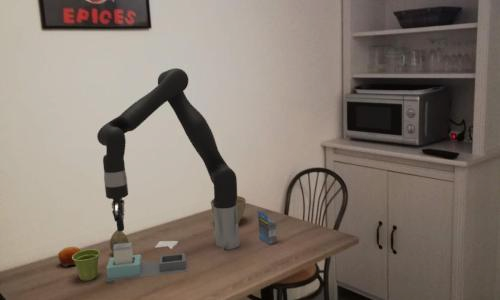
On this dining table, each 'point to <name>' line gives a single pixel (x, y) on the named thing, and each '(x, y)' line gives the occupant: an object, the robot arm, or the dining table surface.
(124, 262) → the plug
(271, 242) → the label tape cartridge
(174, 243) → the external hard drive
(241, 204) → the planter bowl
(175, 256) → the panel
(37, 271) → the dining table surface
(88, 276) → the plant pot
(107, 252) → the dining table surface
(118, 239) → the decorative egg
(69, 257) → the fruit
